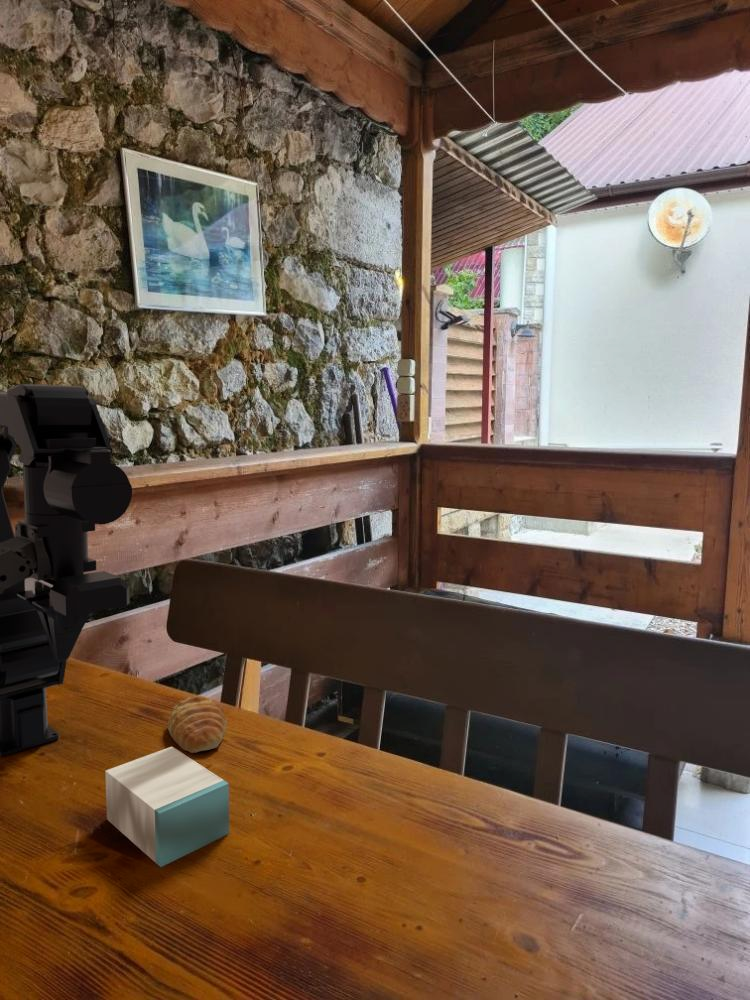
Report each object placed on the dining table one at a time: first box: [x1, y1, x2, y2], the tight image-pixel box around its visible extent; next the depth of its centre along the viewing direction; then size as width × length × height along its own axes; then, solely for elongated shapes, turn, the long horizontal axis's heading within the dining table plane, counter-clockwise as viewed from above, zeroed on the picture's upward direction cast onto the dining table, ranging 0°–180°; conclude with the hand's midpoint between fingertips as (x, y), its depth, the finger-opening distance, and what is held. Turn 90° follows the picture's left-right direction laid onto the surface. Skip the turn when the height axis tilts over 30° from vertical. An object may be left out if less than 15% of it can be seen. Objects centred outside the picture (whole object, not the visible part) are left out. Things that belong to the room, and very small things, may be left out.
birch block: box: [104, 746, 230, 868], centre depth 67 cm, size 5×7×10 cm
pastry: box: [166, 695, 228, 754], centre depth 85 cm, size 9×7×4 cm
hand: (61, 659), depth 74 cm, fingers closed
